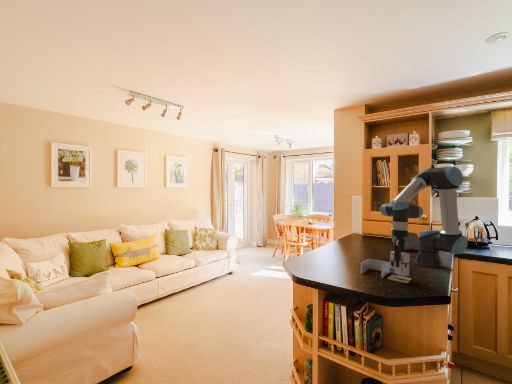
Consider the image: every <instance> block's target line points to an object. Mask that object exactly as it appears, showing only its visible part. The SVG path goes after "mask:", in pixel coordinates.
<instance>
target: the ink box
mask: <svg viewBox="0 0 512 384" xmlns="http://www.w3.org/2000/svg"><path fill="white" fill-rule="evenodd" d="M389 254H390V255H389V262H390V271H389V272H390V273H391V274H392V275H396V276H401V277H408V276H410V259H411V258H410V257H411V256H410V253H408V252H405V253H404V252H401V258H400V261H401V274H398V273H395V261H394V260H393V259H394V250H392V251H389ZM390 273H389V274H390Z"/></svg>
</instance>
